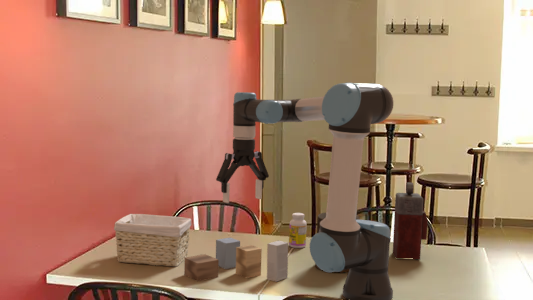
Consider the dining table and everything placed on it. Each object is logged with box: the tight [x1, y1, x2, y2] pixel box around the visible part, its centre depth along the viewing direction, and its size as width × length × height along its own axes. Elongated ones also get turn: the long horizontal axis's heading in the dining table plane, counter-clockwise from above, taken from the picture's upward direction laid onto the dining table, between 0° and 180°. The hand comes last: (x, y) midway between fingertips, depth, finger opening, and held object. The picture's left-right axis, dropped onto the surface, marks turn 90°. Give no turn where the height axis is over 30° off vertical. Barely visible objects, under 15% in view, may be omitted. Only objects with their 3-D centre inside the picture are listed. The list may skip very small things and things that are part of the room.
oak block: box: [235, 244, 263, 279], centre depth 224 cm, size 6×6×9 cm
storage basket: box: [113, 213, 192, 267], centre depth 238 cm, size 24×16×15 cm
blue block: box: [215, 237, 241, 270], centre depth 233 cm, size 6×6×9 cm
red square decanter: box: [392, 182, 429, 260], centre depth 251 cm, size 9×11×28 cm
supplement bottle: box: [288, 212, 308, 249], centre depth 262 cm, size 7×7×13 cm
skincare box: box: [266, 240, 289, 282], centre depth 220 cm, size 6×4×12 cm
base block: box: [183, 253, 219, 282], centre depth 221 cm, size 8×8×6 cm
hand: (242, 200), depth 229 cm, fingers open, 13 cm apart
